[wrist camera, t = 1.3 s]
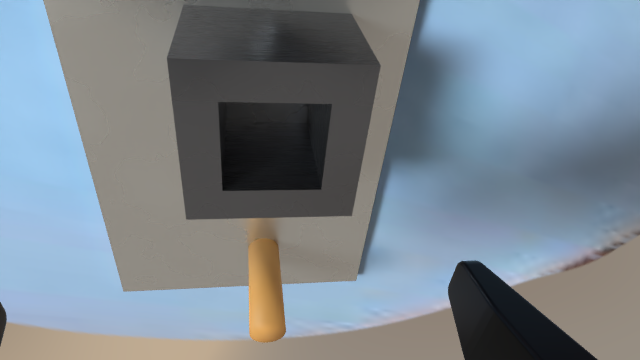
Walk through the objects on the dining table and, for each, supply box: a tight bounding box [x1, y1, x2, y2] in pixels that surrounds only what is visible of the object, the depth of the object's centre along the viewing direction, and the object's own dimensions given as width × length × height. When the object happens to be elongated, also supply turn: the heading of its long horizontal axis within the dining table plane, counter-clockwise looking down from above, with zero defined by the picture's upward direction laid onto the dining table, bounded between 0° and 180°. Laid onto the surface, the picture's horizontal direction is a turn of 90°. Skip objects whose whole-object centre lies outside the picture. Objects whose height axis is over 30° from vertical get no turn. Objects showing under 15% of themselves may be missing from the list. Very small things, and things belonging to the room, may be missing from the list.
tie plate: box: [43, 0, 420, 291], centre depth 18 cm, size 13×21×4 cm, turn 174°
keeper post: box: [248, 238, 286, 342], centre depth 22 cm, size 2×2×5 cm
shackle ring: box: [167, 5, 381, 220], centre depth 16 cm, size 6×6×4 cm
